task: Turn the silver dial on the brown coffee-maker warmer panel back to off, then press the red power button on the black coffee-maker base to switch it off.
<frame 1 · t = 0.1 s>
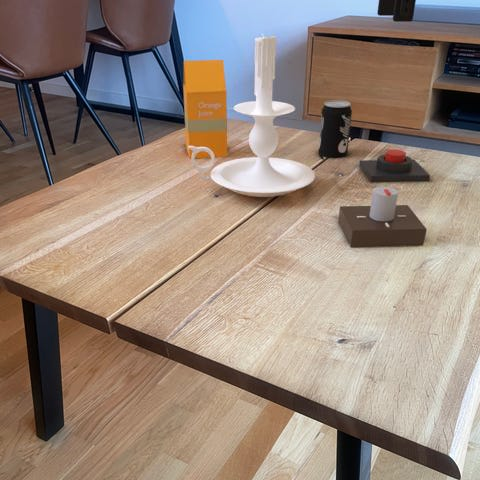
hand: (394, 18, 95), 30 cm above the table, tool pointing down, fingers open, 9 cm apart
power button: (395, 156, 114), point 4 cm above the table, slide at 0.1 cm
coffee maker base: (392, 177, 117), on the table
warmer panel: (378, 233, 94), on the table
orange juice: (206, 153, 131), on the table
candlestick: (251, 189, 111), on the table
beverage can: (332, 158, 128), on the table
warmer dial: (383, 203, 91), point 5 cm above the table, hinge at 90.0°
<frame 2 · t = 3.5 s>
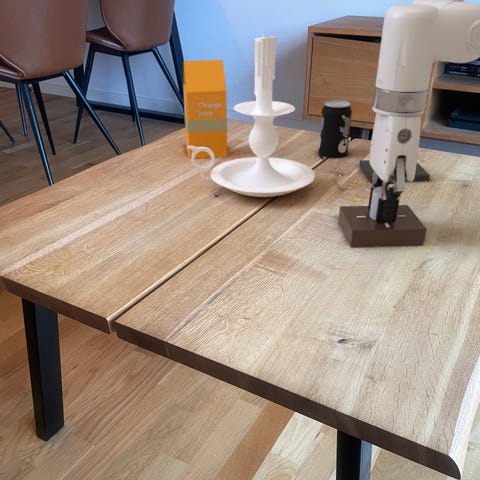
hand: (381, 214, 92), 3 cm above the table, tool pointing down, fingers closed on warmer dial, 4 cm apart
warmer dial: (383, 203, 91), point 5 cm above the table, hinge at 90.1°, touching gripper
everything else where it was.
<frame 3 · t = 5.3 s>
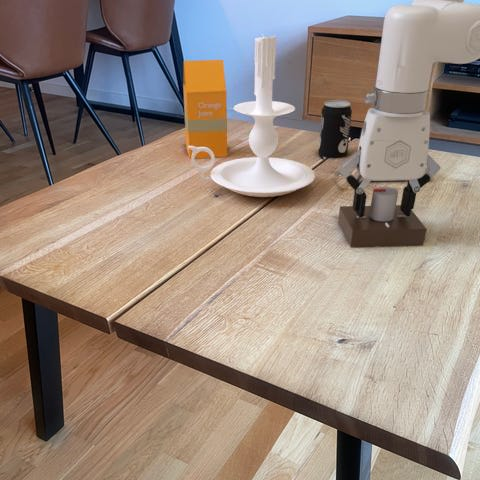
hand: (382, 212, 92), 4 cm above the table, tool pointing down, fingers open, 7 cm apart
warmer dial: (383, 203, 91), point 5 cm above the table, hinge at -0.6°
everything else where it was.
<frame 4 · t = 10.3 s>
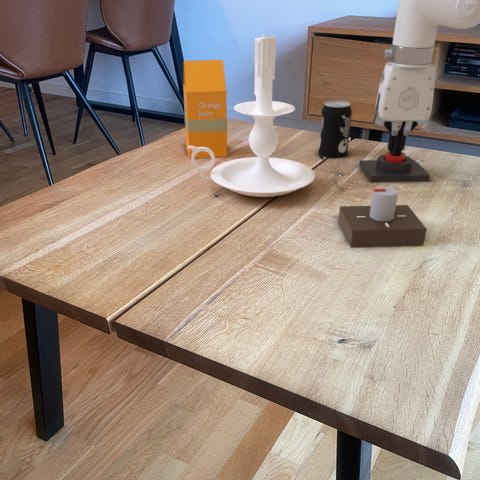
hand: (394, 153, 114), 5 cm above the table, tool pointing down, fingers closed
power button: (395, 158, 114), point 4 cm above the table, slide at -0.2 cm, touching gripper
everything else where it was.
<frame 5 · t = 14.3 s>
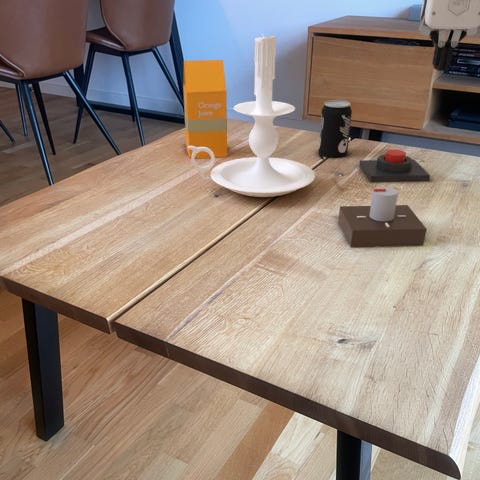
hand: (440, 69, 105), 21 cm above the table, tool pointing down, fingers closed
power button: (395, 156, 114), point 4 cm above the table, slide at 0.1 cm
everything else where it was.
at the end: warmer dial at -1° (first picture: +90°); power button pushed in 1.1 cm at the most during the clip, back to where it started at the end; power button slide at 0.1 cm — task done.
